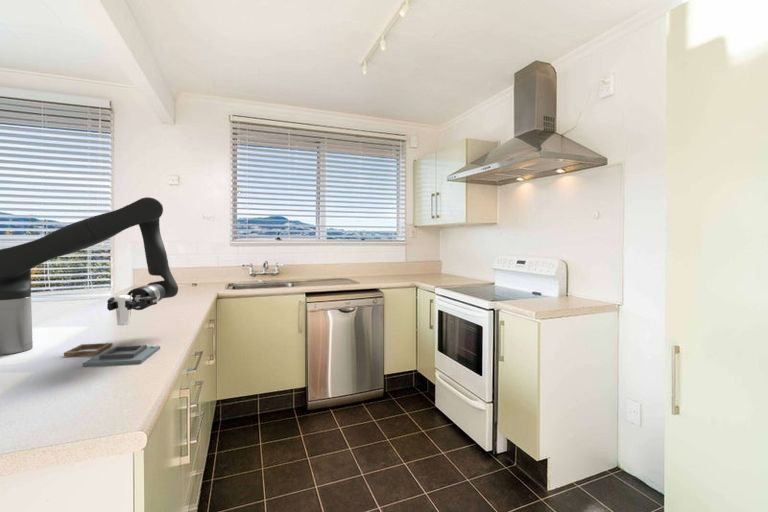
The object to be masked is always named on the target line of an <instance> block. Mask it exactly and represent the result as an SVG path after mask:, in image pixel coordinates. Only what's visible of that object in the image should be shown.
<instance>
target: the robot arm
mask: <svg viewBox="0 0 768 512" xmlns="http://www.w3.org/2000/svg"><path fill="white" fill-rule="evenodd" d="M163 207H164V206H163V204H162V202H160V200H159V199H156V198H154V197H150V196H149V197H148V196H147V197H142V198H140V199H137V200H136V201H134V202H132V203H129V204H127V205H125V206H122V207H121V208H119V209H115V210H112V211H109V212H104V213H100V214H97V215H93V216H91V217H88V218H84V219H82V220H79V221H75V222H73V223H70V224H68V225H65V226H63V227H61V228H59V229H56V230H54V231H52V232H50V233H48V234H46V235H44V236H42V237H40V238H37V239H34V240H31V241H29V242H25V243H22V244H18V245H14V246H10V247H4V248H0V355H11V354H18V353H22V352H25V351H29V350H31V349H32V348H33V347H34V346H33V345H34V344H33V317H32V315H33V314H32V269H33V268H35V267H38V266H39V265H41V264H43V263H46V262H48V261H50V260H53V259H55V258H56V259H57V258H59V257H62V256H63V257H64V256H67V255H70V254H73V253H76V252H80V251H83V250H85V249H87V248H90V247H93V246H95V245H98V244H99V243H100V244H101V243H103V242H106V240H108V239H111V238H112V237H115V236H116V235H118V234H120V233H122V232H123V231H126V230H127V229H129V228H132V227H135V226H138V227H139V229H140V232H141V237H142V240H143V248H144V253H145V260H146V261H145V262H146V266H147V271H148V274H149V275H150V276H152V277H153V276H158V277H161V278H162V279H163V280H158V281H157V280H156V281H151V282H149V283H147V284H146V285H142V286H139V287H136V288H133V289H131V290H130V291H129V292H128V293H127V294H126V295H129V296H130V295H131V293H133V294H132V296H131V297H132V298H133V300H132V301H131V302H129V303H127V310H131V311H132V310H135V311H142V310H145V309H147V308H149V307H151V306H155V305H157V304H158V302H160V301H161V300H163V299H169V298H173V297H174V298H175V297H176V296H177V294H178V292H179V286H178V283H177V282H176V280H175V278H174V276H173V274H172V272H171V269H170V265H169V259H168V255H167V251H166V248H165V243H164V241H163V238H162V234H161V229H160V228H161V227H160V218H161V216H163V212H164V208H163ZM115 298H116V297H114V296H113V297H109V299H107V302H106V303H107V310H108V311H115V310H116V308H115V300H114V299H115Z"/></svg>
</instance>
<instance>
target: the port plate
mask: <svg viewBox="0 0 768 512" xmlns="http://www.w3.org/2000/svg"><path fill="white" fill-rule="evenodd" d="M160 349H161V345H149V346H148V344H140V345H139V344H136V345H115V346H114V347H113V346H112V347H111V348H108V349H107V350H105V351H103V352H101V353H100V354H98V355H93V357H91V358H89V359H87V360H86V361H84V362H82V367H83V368H84V367H97V366H99V367H100V366H113V365H115V366H116V365H118V366H119V365H133V364H137V365H138V364H143V363H144V362H145V361H147V359H148V358H150V357H152V356H153V355H154V354H155V353H157V352H158V351H159V350H160Z"/></svg>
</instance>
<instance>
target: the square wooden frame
mask: <svg viewBox="0 0 768 512" xmlns="http://www.w3.org/2000/svg"><path fill="white" fill-rule="evenodd" d="M108 348H113V342H101V343H83V344H80V345H78V346H75V347H73V348H72V349H69V350H67V351H66V352H65V351H64V352H63V357H64V358H65V357H82V356H83V357H84V356H85V357H86V356H96V355H98V354H100V353H101V352H103V351H105V350H107V349H108ZM83 349H95V350H83Z"/></svg>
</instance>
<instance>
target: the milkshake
mask: <svg viewBox="0 0 768 512" xmlns="http://www.w3.org/2000/svg"><path fill="white" fill-rule="evenodd" d="M132 294H133V293H131V295H130V296H129V295H127V294H124V295H123V294H120V295H117V296H115V297H114V298H115V299H114V300H115V308H116V309H115V314H116V315H115V318H116V325H117V326H128V325H130V324H131V319H132V315H131V314H132V309H131V310H127V303H129V302H131V301H132V300H133V298H132V297H131V296H132Z"/></svg>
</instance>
